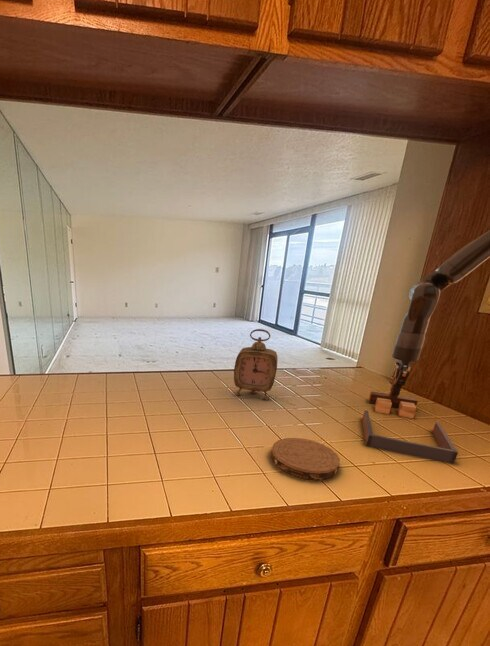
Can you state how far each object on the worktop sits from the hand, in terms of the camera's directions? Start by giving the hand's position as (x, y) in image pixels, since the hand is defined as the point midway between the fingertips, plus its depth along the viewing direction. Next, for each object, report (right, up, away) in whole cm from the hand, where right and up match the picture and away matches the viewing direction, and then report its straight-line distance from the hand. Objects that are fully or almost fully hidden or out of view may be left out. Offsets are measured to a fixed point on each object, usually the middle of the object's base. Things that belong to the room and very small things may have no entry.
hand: (394, 393), depth 122 cm
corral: (-12, -14, -21) cm, 27 cm away
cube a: (-6, -6, -3) cm, 9 cm away
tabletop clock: (-48, -1, +9) cm, 49 cm away
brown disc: (-46, -19, -34) cm, 60 cm away
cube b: (0, -8, -5) cm, 9 cm away
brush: (0, -4, +2) cm, 5 cm away
